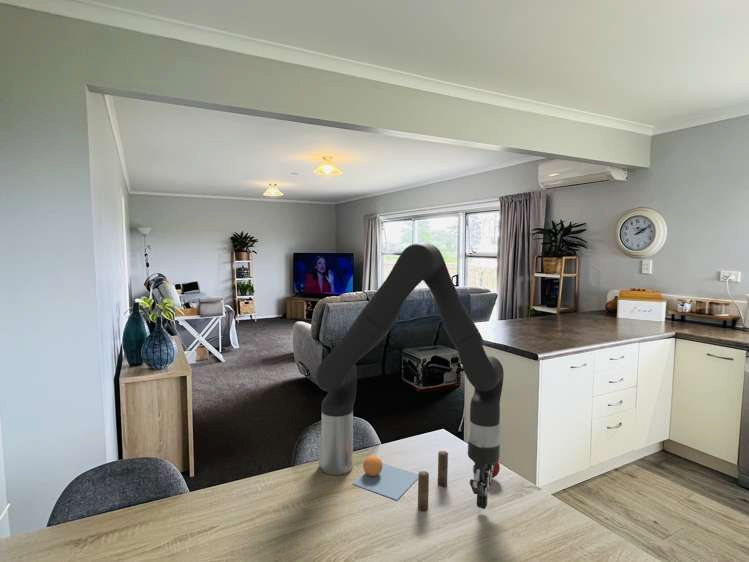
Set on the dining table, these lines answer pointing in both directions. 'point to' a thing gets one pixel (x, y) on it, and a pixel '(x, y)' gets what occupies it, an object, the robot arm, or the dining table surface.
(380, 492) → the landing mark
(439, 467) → the post
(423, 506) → the post
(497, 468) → the onion
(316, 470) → the dining table surface
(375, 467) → the ball
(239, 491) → the dining table surface
